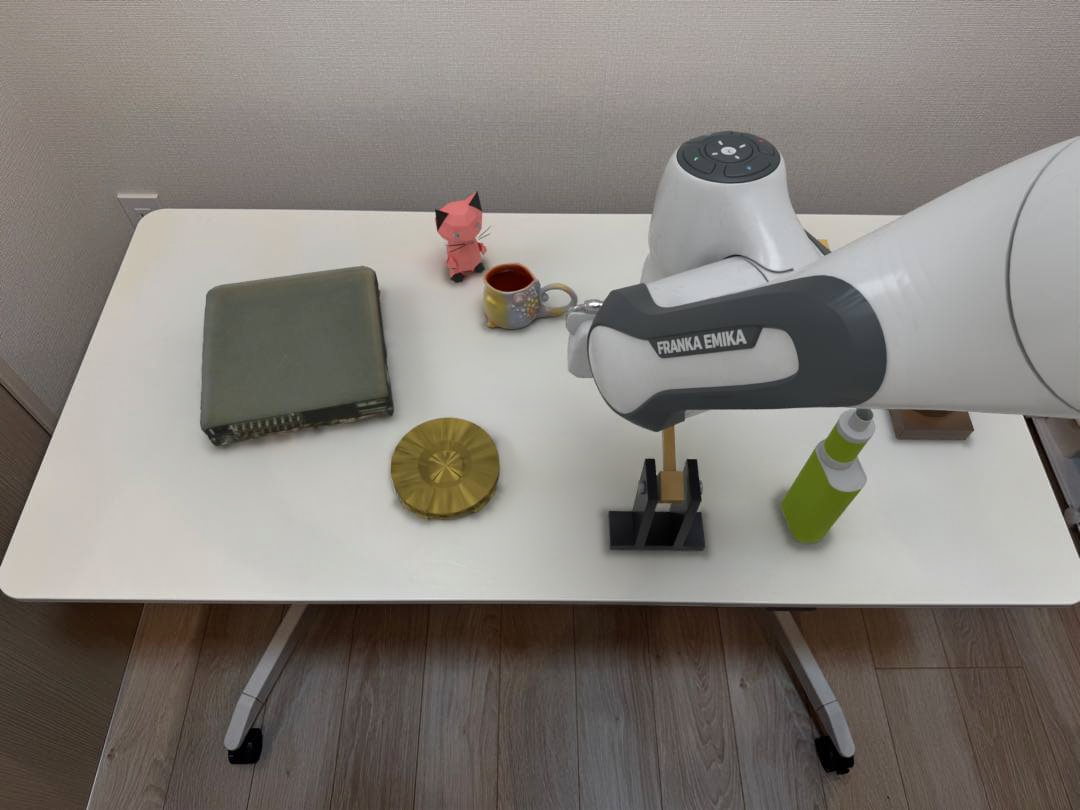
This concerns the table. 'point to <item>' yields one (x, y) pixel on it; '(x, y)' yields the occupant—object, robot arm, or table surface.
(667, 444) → the switch lever
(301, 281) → the network switch
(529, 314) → the mug
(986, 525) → the table surface
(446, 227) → the cat figurine
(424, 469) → the gold round metal disc
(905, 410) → the button block
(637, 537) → the switch bracket
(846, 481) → the vape
